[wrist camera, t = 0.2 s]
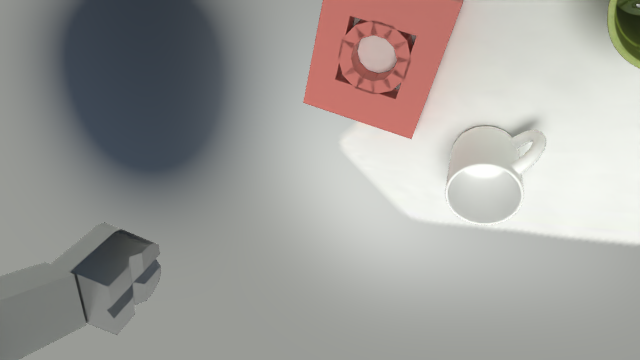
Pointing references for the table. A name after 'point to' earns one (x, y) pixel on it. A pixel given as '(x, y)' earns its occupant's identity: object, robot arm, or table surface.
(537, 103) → the table surface
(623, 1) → the plant pot
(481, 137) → the mug
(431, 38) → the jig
